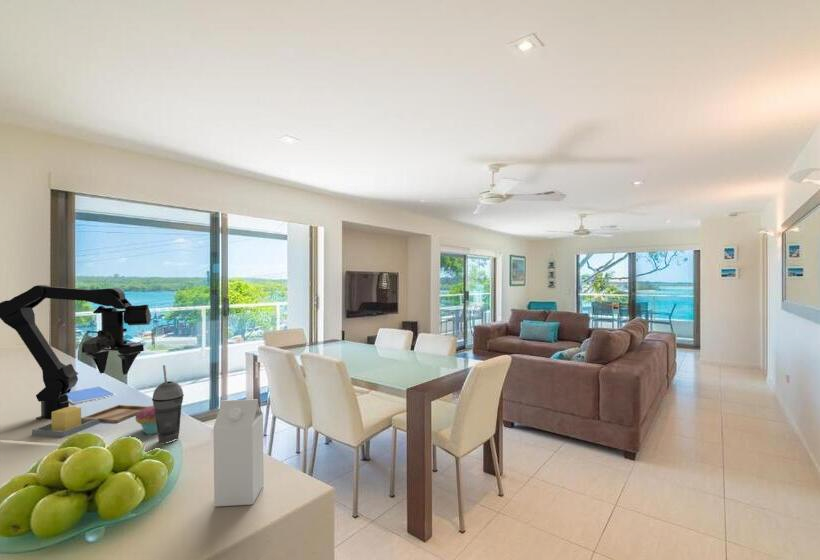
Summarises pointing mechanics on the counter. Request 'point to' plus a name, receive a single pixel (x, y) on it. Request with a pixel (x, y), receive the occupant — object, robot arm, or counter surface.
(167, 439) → the beverage cup
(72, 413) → the block
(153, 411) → the cupcake
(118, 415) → the tray
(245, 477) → the milk carton
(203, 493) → the counter surface
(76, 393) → the tablet computer
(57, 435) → the dish
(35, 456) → the counter surface
